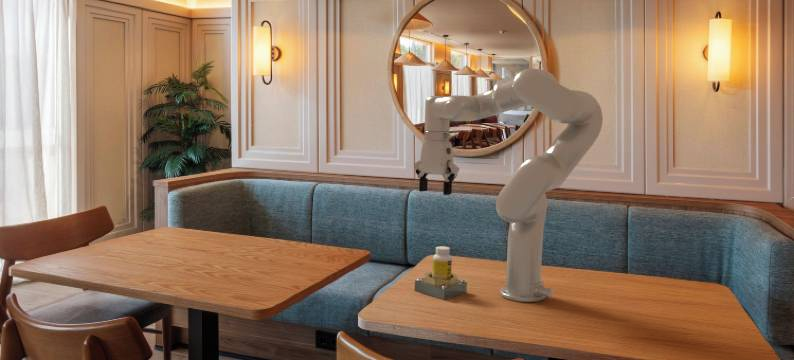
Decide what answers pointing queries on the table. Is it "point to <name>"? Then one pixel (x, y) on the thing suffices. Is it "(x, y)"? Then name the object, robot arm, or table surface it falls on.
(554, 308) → the table surface
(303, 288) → the table surface
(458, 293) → the octagonal bottle holder
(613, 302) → the table surface
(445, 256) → the supplement bottle
